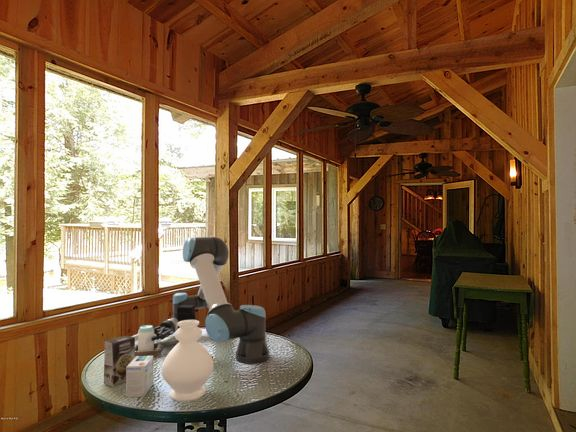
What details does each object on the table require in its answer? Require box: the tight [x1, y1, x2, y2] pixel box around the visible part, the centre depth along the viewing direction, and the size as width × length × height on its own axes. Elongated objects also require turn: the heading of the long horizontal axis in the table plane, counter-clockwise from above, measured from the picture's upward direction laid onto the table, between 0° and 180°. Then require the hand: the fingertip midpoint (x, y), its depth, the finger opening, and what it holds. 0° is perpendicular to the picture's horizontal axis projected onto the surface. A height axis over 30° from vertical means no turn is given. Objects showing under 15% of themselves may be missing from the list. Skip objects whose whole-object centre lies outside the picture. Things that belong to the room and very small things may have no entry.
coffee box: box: [103, 335, 136, 388], centre depth 142 cm, size 9×6×16 cm
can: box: [137, 324, 155, 352], centre depth 174 cm, size 7×7×12 cm
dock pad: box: [155, 335, 177, 347], centre depth 190 cm, size 12×12×1 cm
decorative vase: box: [161, 320, 214, 402], centre depth 132 cm, size 18×18×25 cm
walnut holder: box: [135, 342, 162, 357], centre depth 174 cm, size 12×12×2 cm
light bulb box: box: [125, 356, 154, 398], centre depth 134 cm, size 11×7×11 cm, turn 5°
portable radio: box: [176, 304, 197, 345], centre depth 171 cm, size 8×6×25 cm
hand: (139, 340), depth 169 cm, fingers closed on can, 7 cm apart
